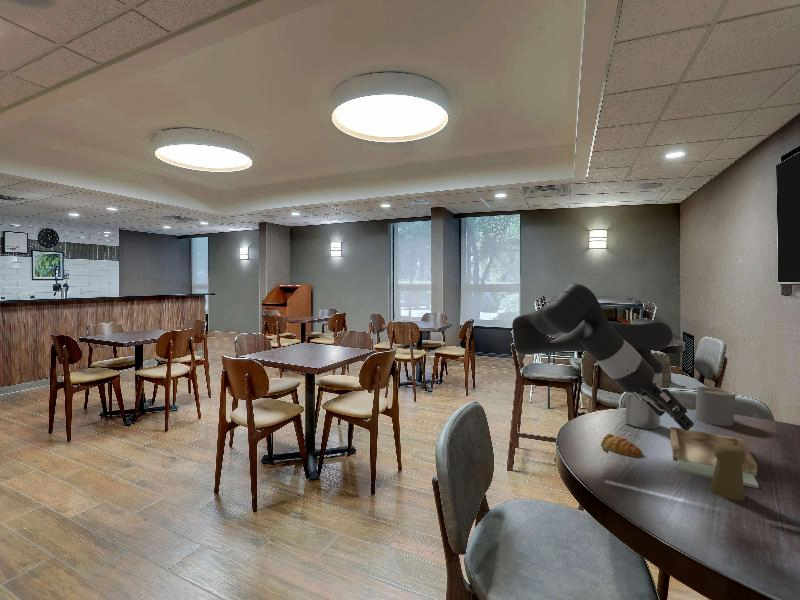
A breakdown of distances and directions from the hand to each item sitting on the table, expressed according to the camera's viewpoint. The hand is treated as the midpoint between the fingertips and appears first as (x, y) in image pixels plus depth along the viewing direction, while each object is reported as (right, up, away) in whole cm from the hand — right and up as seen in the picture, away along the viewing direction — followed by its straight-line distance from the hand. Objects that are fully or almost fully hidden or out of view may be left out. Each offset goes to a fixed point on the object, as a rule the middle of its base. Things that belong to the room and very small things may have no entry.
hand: (675, 419), depth 86 cm
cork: (+11, -17, +1) cm, 20 cm away
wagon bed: (+22, -15, +20) cm, 34 cm away
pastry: (0, -15, +23) cm, 27 cm away
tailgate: (+17, -15, +12) cm, 26 cm away
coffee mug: (+46, -14, +49) cm, 68 cm away
